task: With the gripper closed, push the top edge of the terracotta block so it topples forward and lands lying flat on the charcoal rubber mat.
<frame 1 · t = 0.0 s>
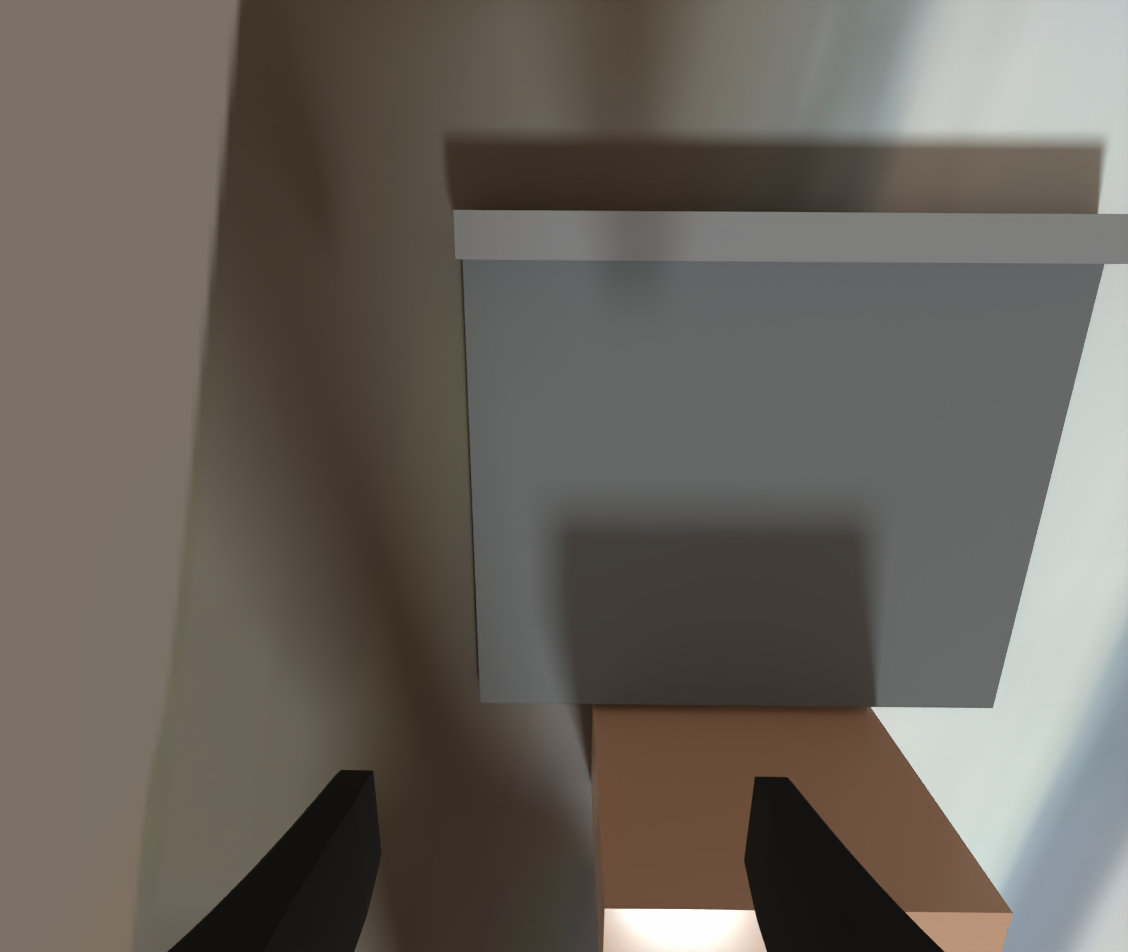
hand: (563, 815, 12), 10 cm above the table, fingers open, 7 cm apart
terracotta block: (726, 742, 24), on the table
mat: (753, 484, 21), on the table
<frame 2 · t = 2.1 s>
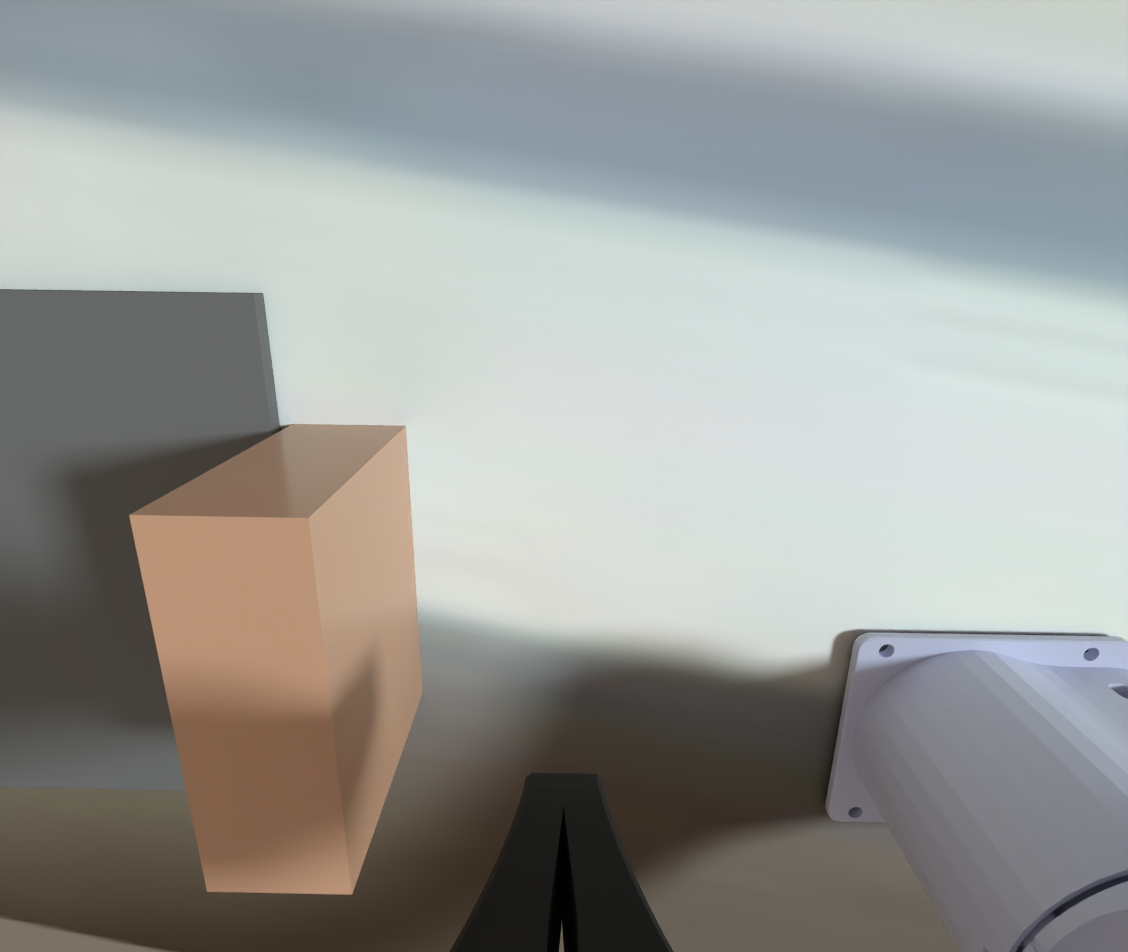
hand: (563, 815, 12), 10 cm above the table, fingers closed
terracotta block: (362, 567, 22), on the table
mat: (63, 563, 22), on the table
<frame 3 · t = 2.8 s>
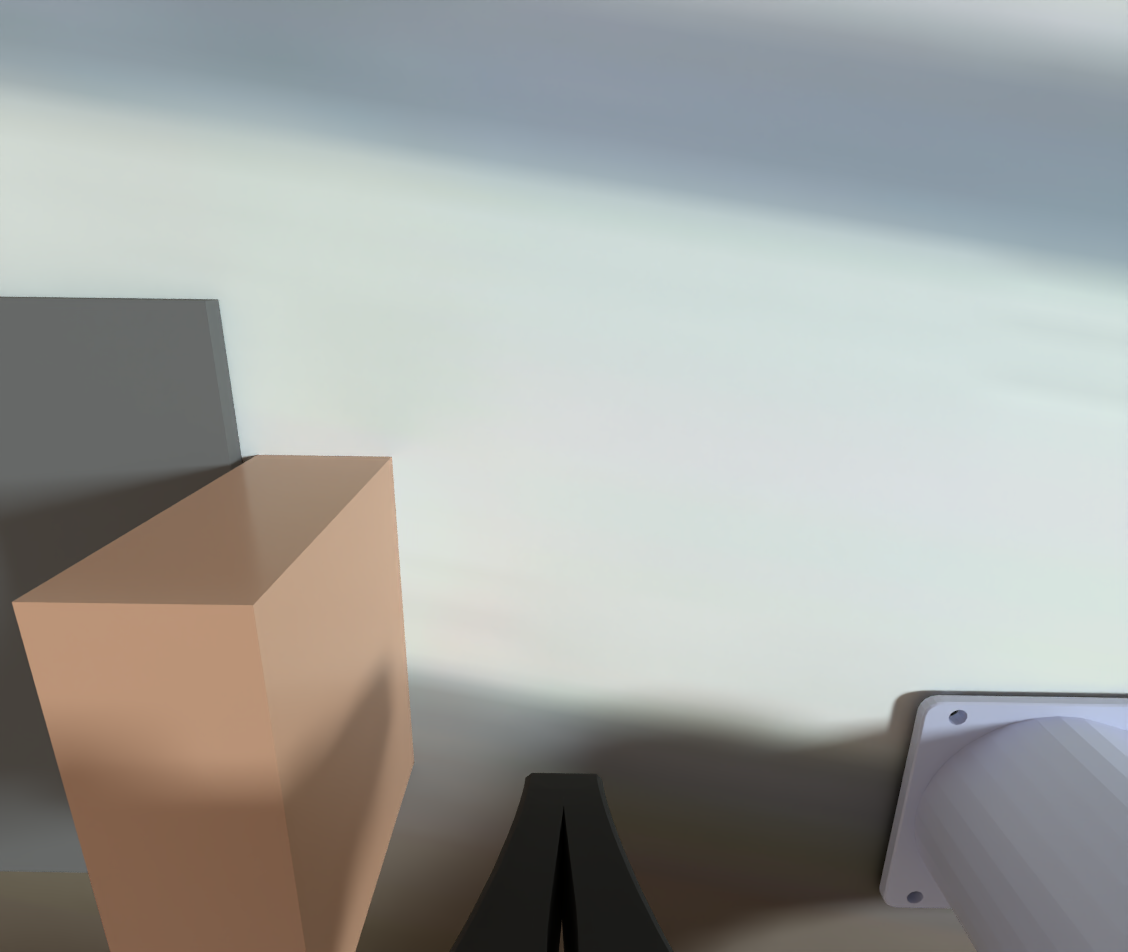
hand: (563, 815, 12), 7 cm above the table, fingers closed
terracotta block: (342, 620, 19), on the table
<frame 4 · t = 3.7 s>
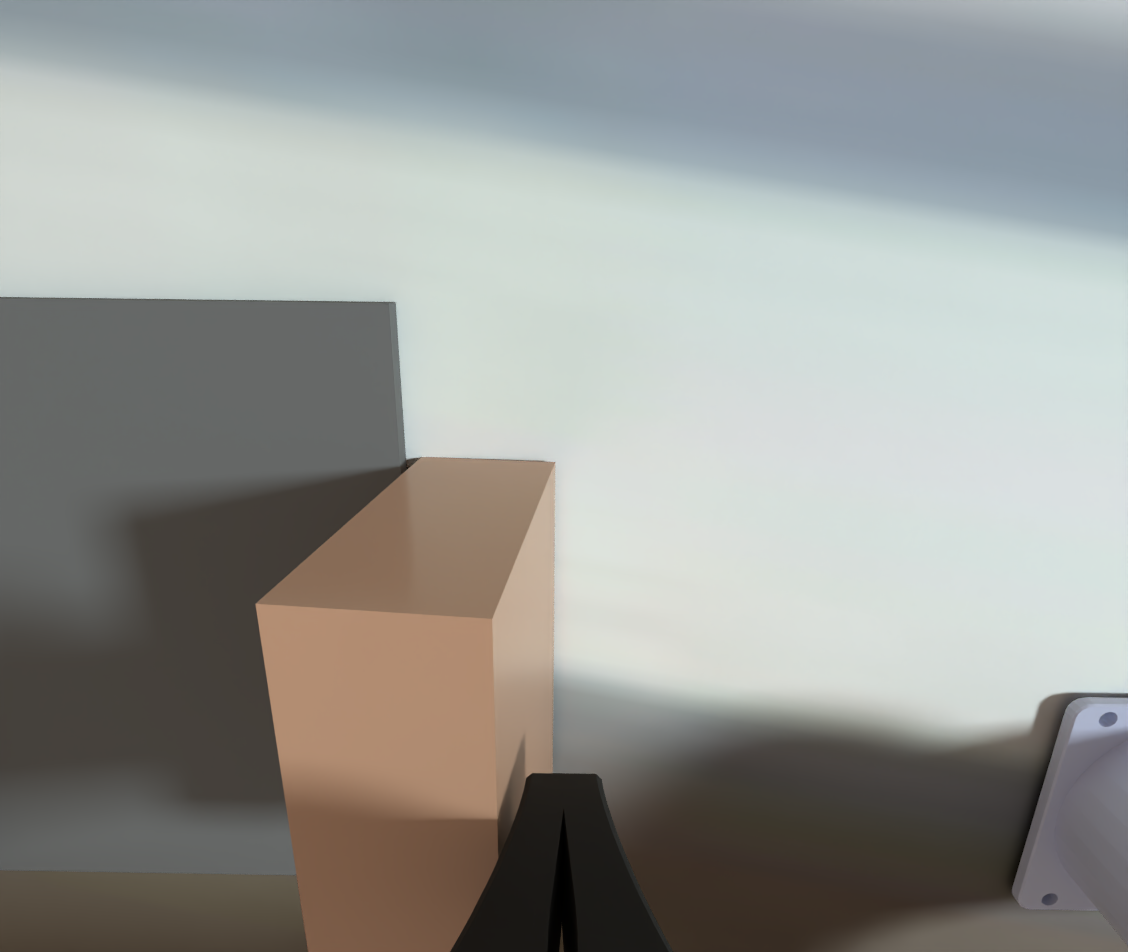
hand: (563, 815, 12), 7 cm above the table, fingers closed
terracotta block: (491, 625, 19), on the table, tilted 5°, touching gripper
mat: (141, 618, 19), on the table
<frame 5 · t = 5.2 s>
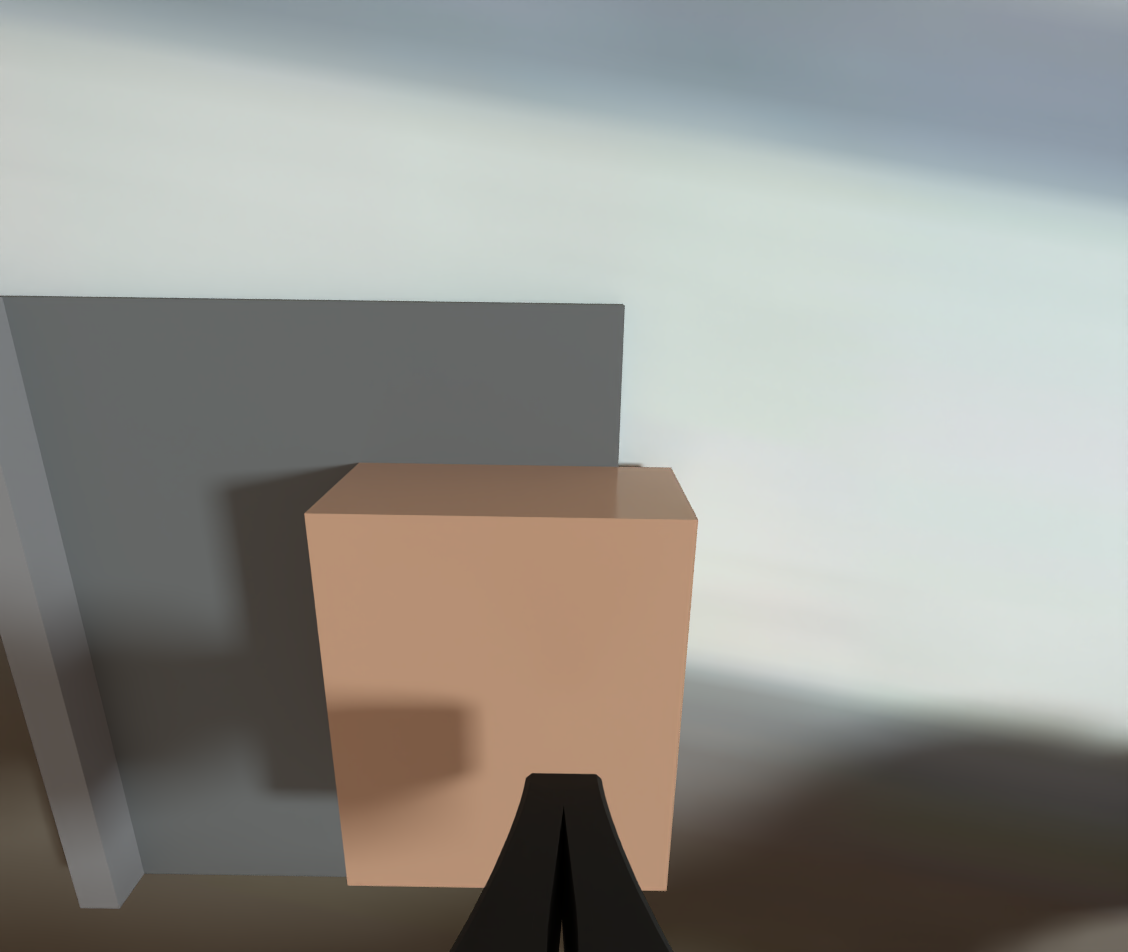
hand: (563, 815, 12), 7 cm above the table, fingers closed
terracotta block: (668, 676, 16), point 2 cm above the table, tilted 90°, touching mat
mat: (333, 621, 19), on the table
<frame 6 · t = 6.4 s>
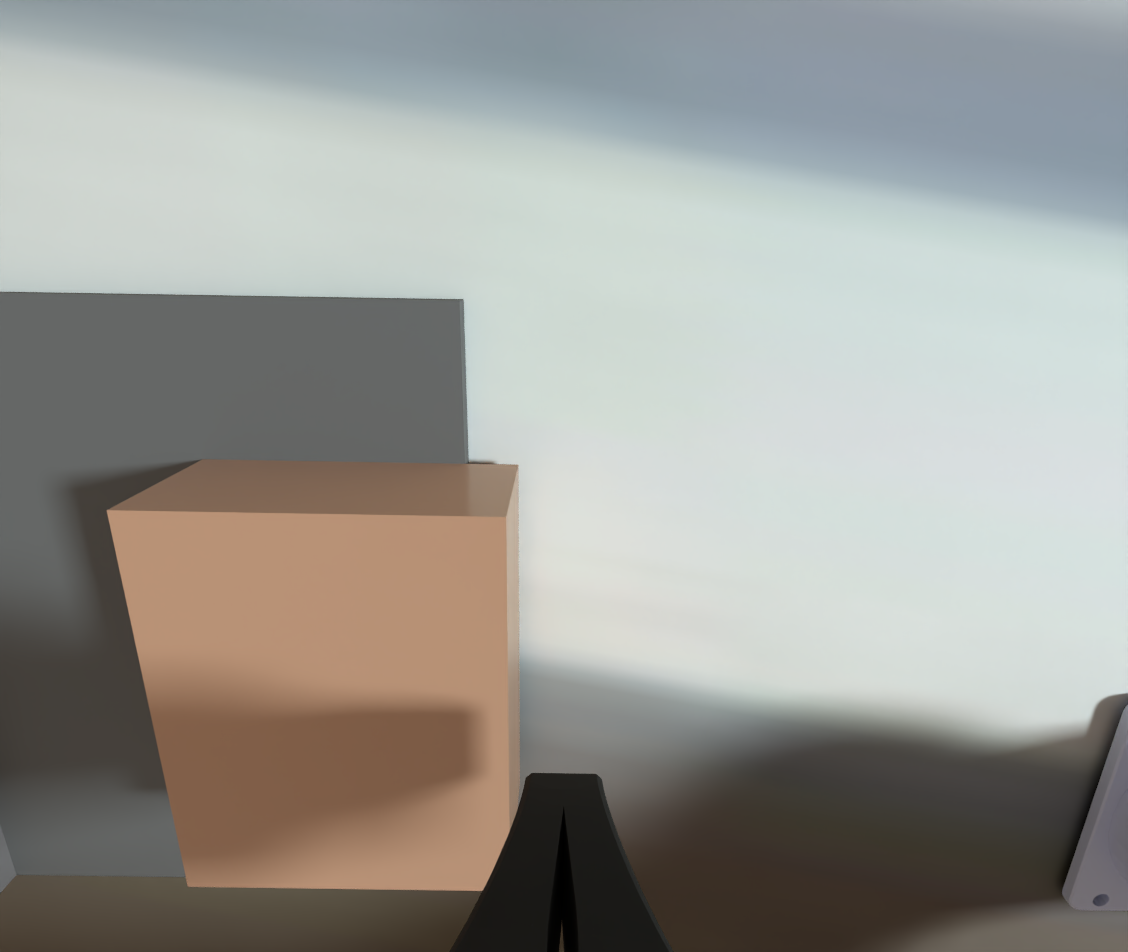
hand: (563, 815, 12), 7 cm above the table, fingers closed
terracotta block: (514, 675, 16), point 2 cm above the table, tilted 90°, touching mat
mat: (194, 620, 18), on the table
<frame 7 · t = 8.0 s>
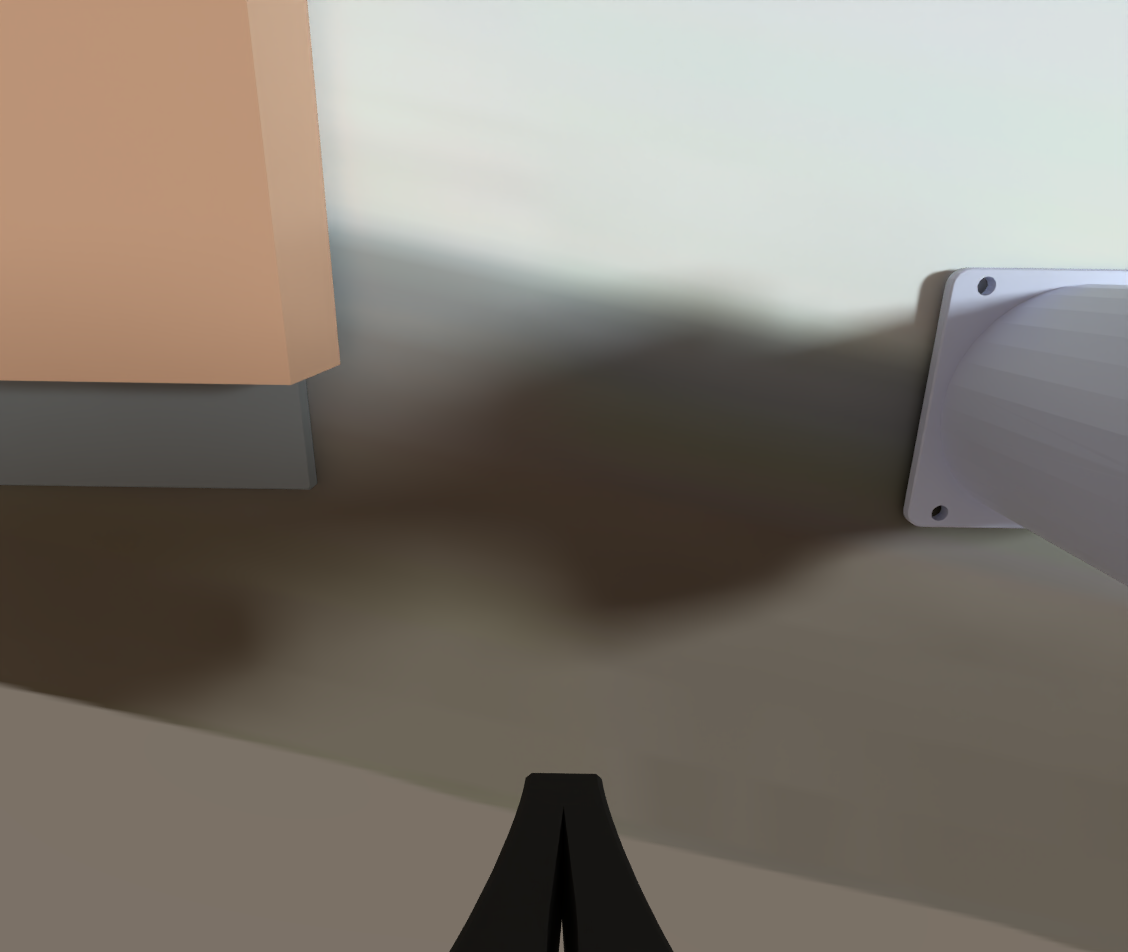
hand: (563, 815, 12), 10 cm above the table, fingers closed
terracotta block: (297, 173, 16), point 2 cm above the table, tilted 90°, touching mat
mat: (4, 180, 18), on the table
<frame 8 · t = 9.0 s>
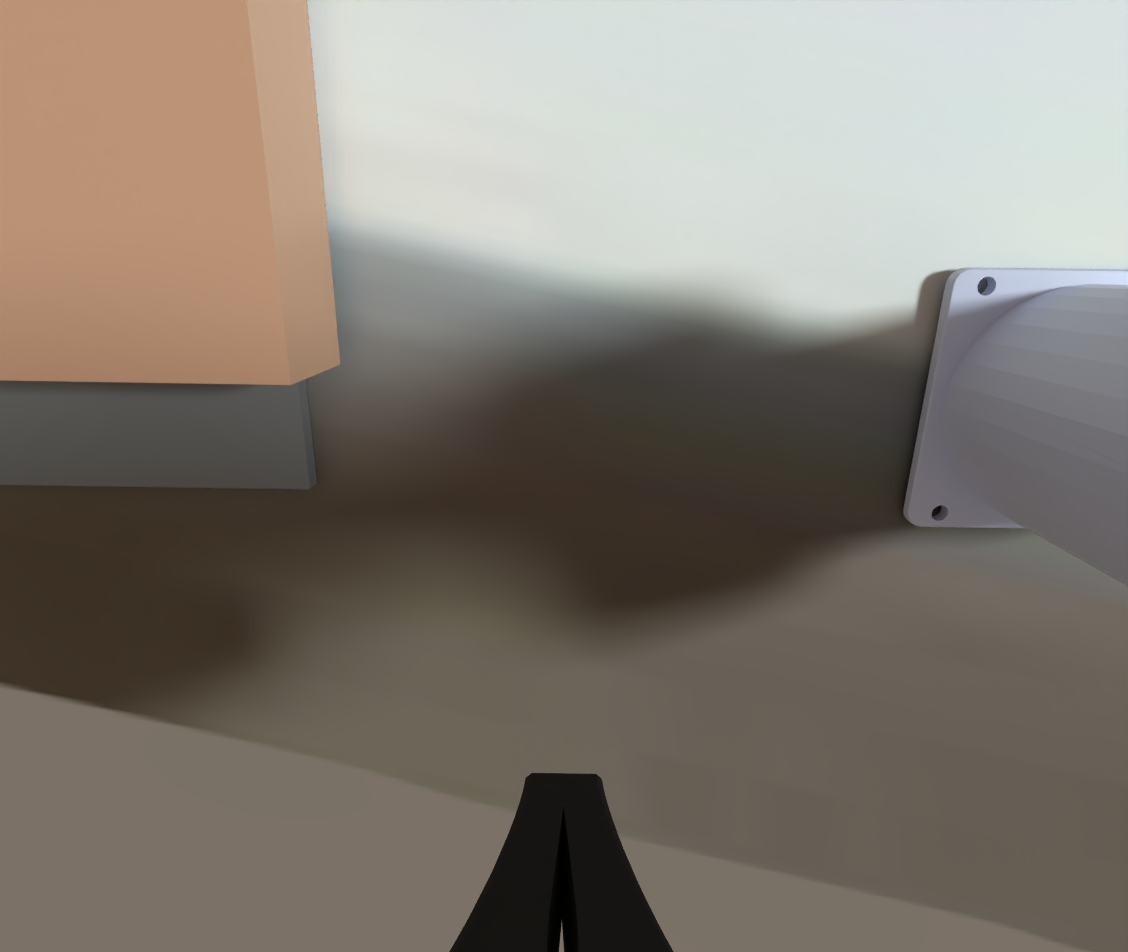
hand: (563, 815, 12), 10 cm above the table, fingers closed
terracotta block: (297, 173, 16), point 2 cm above the table, tilted 90°, touching mat
mat: (4, 180, 18), on the table
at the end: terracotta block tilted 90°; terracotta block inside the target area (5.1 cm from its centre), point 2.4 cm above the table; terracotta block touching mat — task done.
